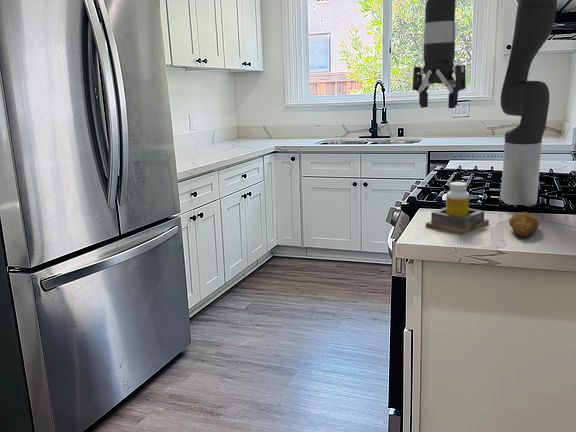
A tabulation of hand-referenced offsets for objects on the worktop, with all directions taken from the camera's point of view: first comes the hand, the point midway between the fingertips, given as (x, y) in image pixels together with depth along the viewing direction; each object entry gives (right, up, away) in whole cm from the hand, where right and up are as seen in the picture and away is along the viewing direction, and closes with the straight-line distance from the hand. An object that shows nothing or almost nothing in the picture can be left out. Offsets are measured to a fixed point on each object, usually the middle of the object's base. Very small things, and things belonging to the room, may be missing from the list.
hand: (437, 107), depth 133 cm
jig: (+4, -30, -4) cm, 31 cm away
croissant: (+17, -32, -11) cm, 38 cm away
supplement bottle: (+4, -29, -4) cm, 30 cm away
